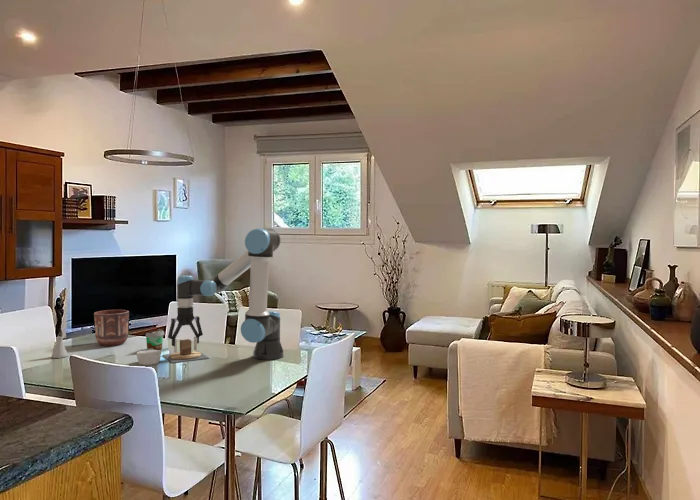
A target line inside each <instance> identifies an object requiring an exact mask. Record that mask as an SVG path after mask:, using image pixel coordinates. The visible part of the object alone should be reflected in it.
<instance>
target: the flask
mask: <svg viewBox="0 0 700 500" xmlns="http://www.w3.org/2000/svg"><path fill="white" fill-rule="evenodd" d="M55 339H56V342H55V347H54V349H53V352H52V354H51V358H53V359H62V358H66V357H69V353H68V352H67V350H66V347H65V344H64V336H56V337H55Z"/></svg>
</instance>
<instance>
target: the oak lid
mask: <svg viewBox="0 0 700 500" xmlns="http://www.w3.org/2000/svg"><path fill="white" fill-rule="evenodd" d="M197 351H198V350H197ZM197 351H196V350H192V339H189V338H187V339H179V351H177V353H175V352H172V353H169V354H170V358H171V359H176V360H188V359H195V358H198V357H200V356H201V353H202V352H201V351H199V352H197ZM200 352H201V353H200Z"/></svg>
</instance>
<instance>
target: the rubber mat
mask: <svg viewBox="0 0 700 500" xmlns="http://www.w3.org/2000/svg"><path fill="white" fill-rule="evenodd" d="M197 352H200V353H201V356H200V357H198V358H195V359H188V360H176V359H171V358H170V354H171V353H167V354H162V357H163V356H164V358H165V359H166V360H167V361H168V362H170V363H171V364H176V363H177V364H179V363H185V362H195V361H201V360H208V359H210V356H207V355H206V354H204V353H202V352H201V351H200V350H197Z"/></svg>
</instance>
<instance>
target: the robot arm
mask: <svg viewBox="0 0 700 500" xmlns="http://www.w3.org/2000/svg"><path fill="white" fill-rule="evenodd" d="M280 245H281V237H280V233H279V232H278V231H276V230H275V229H273V228H269V227H268V228H261V227H258V228H254V229H251V230H250V231H249V232H247V234H246V236H245V238H244V246H245V248H246V251H245V252H244V253H243V254H241V255H240V256H239V257H237V258H236V259H235V260H234V261H233V262H231V263H230V264H229V265H227V266H226V267H225V268H224V269H223V270H221V271H220V272H218V274H217V275H215V276H214V277H213V278H209V279H208V278H207V279H204V280H202V279H197V280H196V279H194V277H193V275H189V274H188V275H179V276H178V277H177V282H176V283H177V284H176V286H177V309H176V310H177V311H176V312H177V317H174V318H172V317H171V319H170V326H169V330H168V333H167V338H168V339H169V340H171V346H172V347H173V353H177V352H178V340H177V339H176V338H177V336H178V334H179V332H180V330H181V329H182V327H183V326H189V327H190V329H191V330H192V332H193V333H194V337H193V351H198V344H199V343H200V337H202V336H203V335H204V334H203V329H202V327H201V326H202V325H201V323H200V321H201V320H200V316H198V315H197V316H196V315H195V316H194V307H193V306H194V296H203V297H204V296H205V297H209V296H210V297H211V296H214V295H215V294H217V293H222V292H224V291H225V290H226V289H227V287H228V286H229V285H230V284H231V283H232V282H233V281H235V280H236V279H237V278H239V277H240V276H241V275H242V274H244V273H245V272H246V271H247V270H250V276H249V278H250V279H249V295H248V298H249V299H248V310H247V311H246V312H245V314H244V321H243V322H242V323H241V325H240V333H241V336H242V338H244V340H245V341H247V342H249V343H253V344H255V343H256V344H255V346H254V350H253V356H252V357H253V358H254V359H257V360H261V361H262V360H263V361H264V360H266V361H267V360H268V361H269V360H270V361H271V360H278V359H281V358H283V357H284V354H285V353H284V349H283V346H282V342H281V314H280V312H279V311H273V310H271V311H269V310H268V294H269V274H270V272H269V271H270V260H271V259H272V258H273V255H274V253H275V251H277V250H278V248H279V247H280ZM193 321H194V322H195V323H196V328H197V329H196V328H195V326H194V323H193ZM176 322H178V323H177V325H176ZM175 326H176V328H175Z"/></svg>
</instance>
